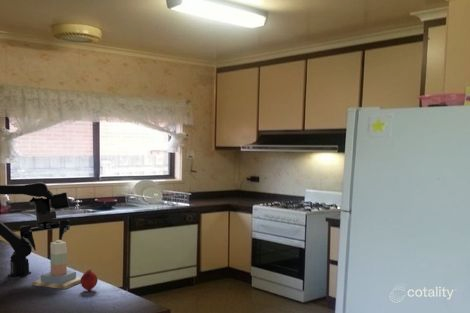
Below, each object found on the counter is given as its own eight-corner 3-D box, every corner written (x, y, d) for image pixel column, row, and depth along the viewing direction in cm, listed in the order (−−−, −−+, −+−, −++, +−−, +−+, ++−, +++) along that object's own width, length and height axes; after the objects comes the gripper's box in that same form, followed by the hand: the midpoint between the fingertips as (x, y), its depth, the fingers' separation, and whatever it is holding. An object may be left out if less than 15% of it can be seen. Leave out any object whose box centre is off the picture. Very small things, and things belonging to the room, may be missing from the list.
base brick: (40, 281, 177) (40, 275, 177) (56, 275, 185) (56, 269, 185) (60, 284, 174) (60, 277, 174) (76, 277, 182) (75, 271, 182)
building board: (32, 285, 177) (32, 281, 177) (52, 277, 187) (52, 274, 187) (65, 288, 172) (65, 285, 172) (84, 280, 182) (84, 277, 182)
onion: (92, 293, 167) (92, 271, 166) (77, 292, 168) (77, 270, 168) (100, 288, 172) (100, 267, 172) (85, 287, 173) (85, 266, 173)
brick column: (50, 273, 180) (50, 240, 179) (61, 271, 183) (61, 238, 182) (55, 275, 176) (55, 242, 176) (66, 273, 179) (66, 240, 179)
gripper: (17, 207, 182) (21, 245, 176) (68, 201, 190) (73, 237, 184) (18, 218, 191) (22, 254, 185) (66, 211, 199) (71, 246, 193)
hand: (47, 248), depth 186 cm, fingers open, 9 cm apart
